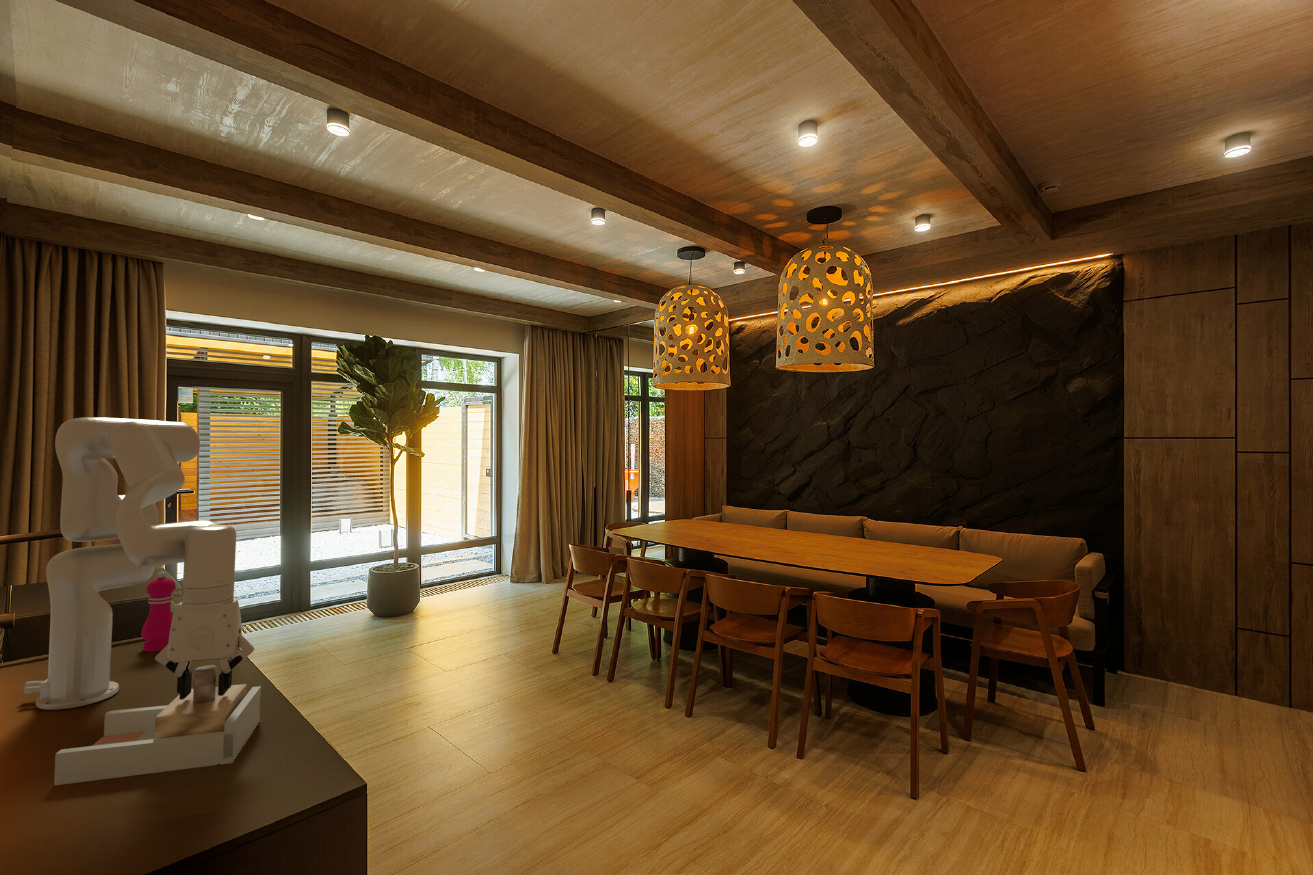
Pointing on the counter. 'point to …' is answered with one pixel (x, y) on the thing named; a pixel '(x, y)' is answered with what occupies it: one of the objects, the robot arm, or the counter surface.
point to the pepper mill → (158, 613)
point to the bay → (155, 745)
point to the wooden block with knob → (199, 707)
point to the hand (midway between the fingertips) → (204, 693)
